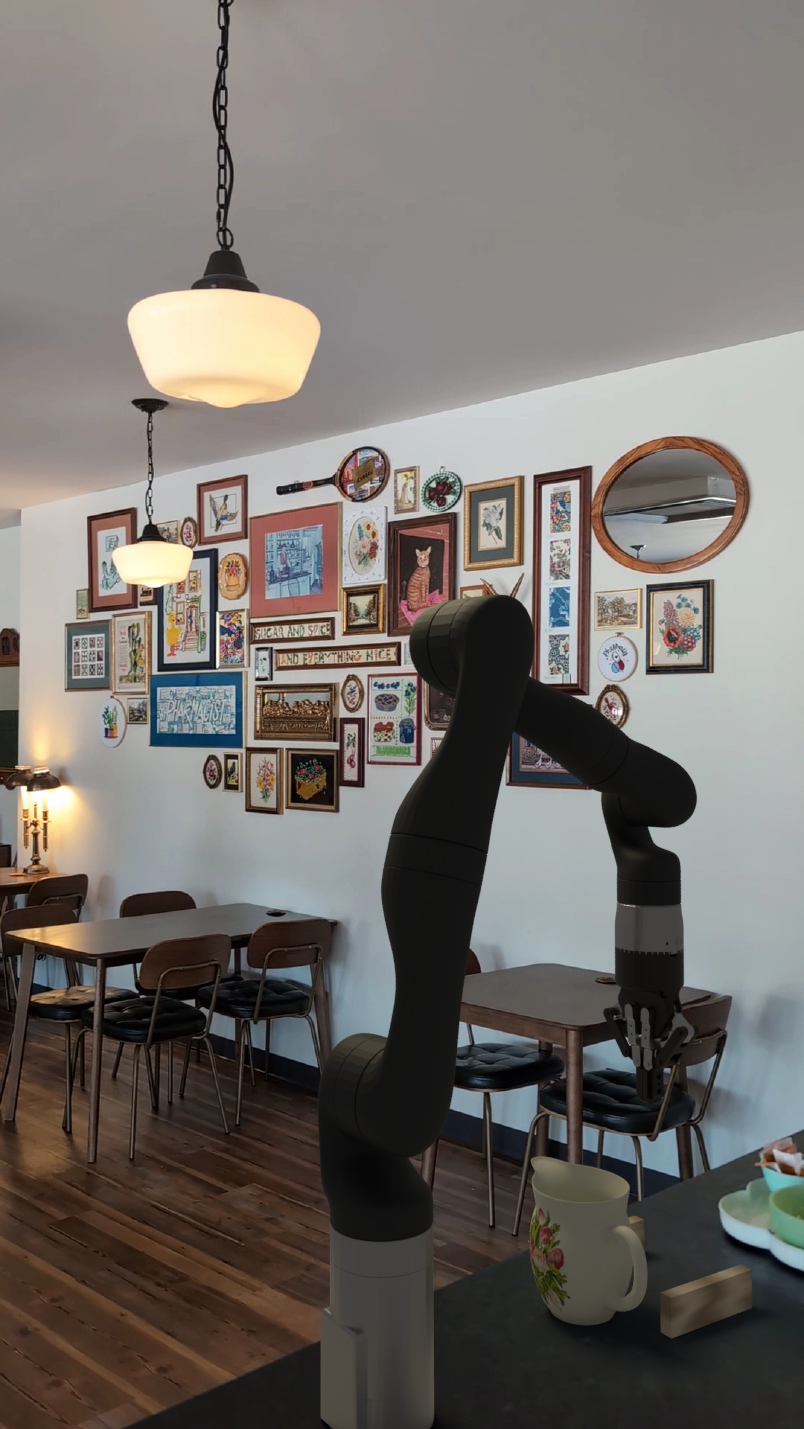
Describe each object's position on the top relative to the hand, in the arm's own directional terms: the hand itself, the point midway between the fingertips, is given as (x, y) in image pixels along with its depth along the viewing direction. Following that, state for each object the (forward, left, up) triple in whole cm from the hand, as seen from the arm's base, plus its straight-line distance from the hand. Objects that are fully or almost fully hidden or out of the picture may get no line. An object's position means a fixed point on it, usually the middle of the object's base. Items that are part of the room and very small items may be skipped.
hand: (650, 1101), depth 129 cm
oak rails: (0, 0, -21) cm, 21 cm away
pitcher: (-10, 0, -21) cm, 23 cm away
